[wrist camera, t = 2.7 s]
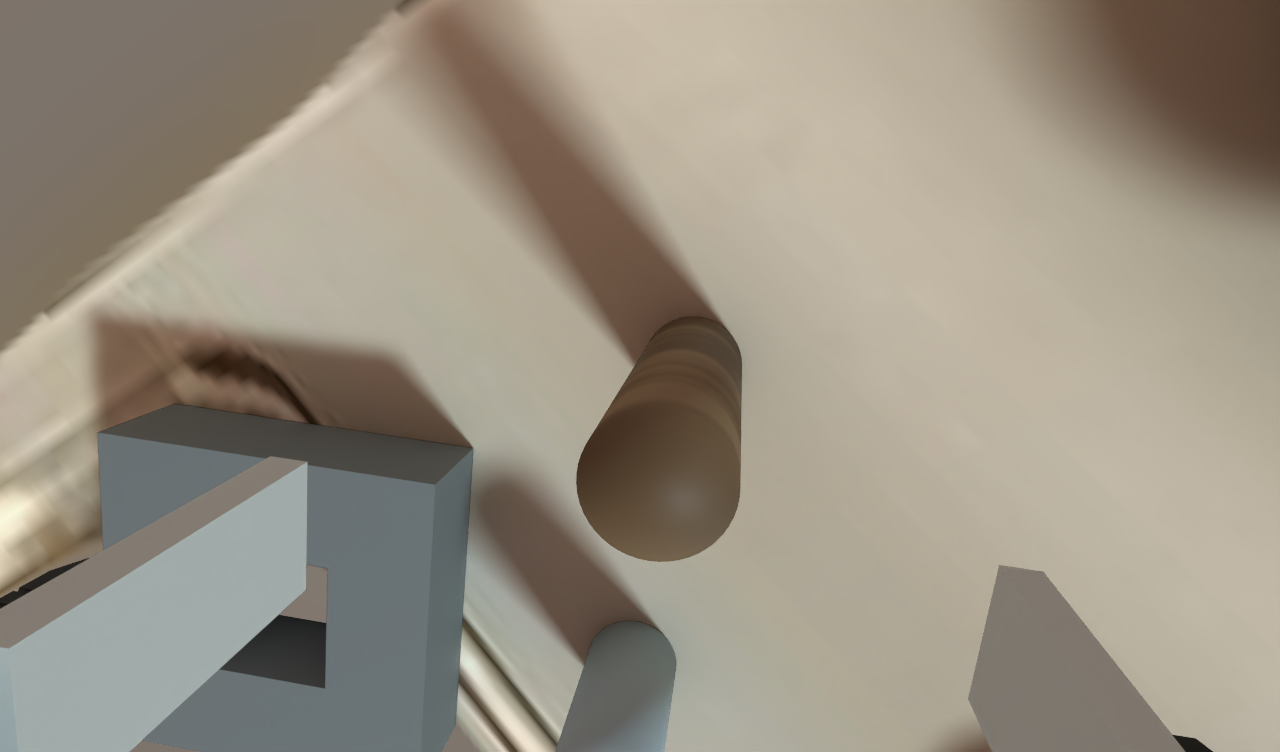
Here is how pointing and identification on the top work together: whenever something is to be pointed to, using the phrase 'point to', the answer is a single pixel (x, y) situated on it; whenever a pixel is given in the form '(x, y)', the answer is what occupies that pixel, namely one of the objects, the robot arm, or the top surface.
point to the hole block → (356, 581)
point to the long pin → (669, 447)
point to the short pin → (622, 693)
